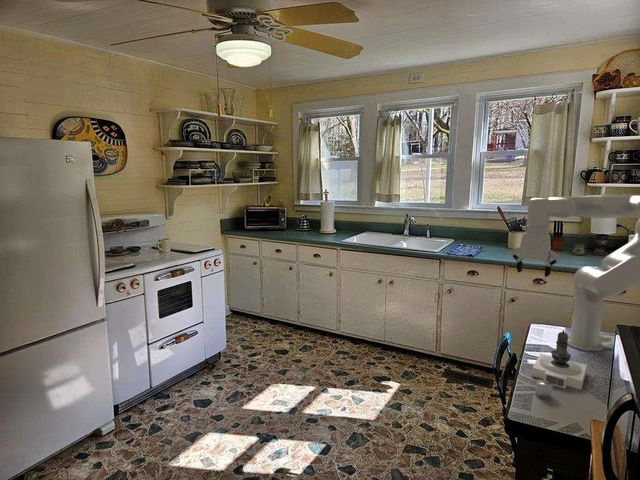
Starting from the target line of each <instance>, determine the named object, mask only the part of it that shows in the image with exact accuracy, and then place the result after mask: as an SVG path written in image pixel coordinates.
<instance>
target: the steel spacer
mask: <svg viewBox="0 0 640 480" xmlns="http://www.w3.org/2000/svg"><path fill="white" fill-rule="evenodd" d="M535 382H536V383H535V392H534V395H535V396H536V397H538V398H539V399H542V400H546V401H547V400H551V399H552V398H553V396H552V395H553V390H554V389H553V388H554V385H553V384H552V383H551V382H549V381H546V380H544V379H538V380H536V381H535Z"/></svg>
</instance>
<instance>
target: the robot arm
mask: <svg viewBox="0 0 640 480" xmlns="http://www.w3.org/2000/svg"><path fill="white" fill-rule="evenodd" d="M573 216H575V217H583V218H584V217H585V218H591V219H614V218H615V219H618V218H620V219H621V218H622V219H624V218H625V219H627V218H632V219H633V218H634V219H638V220H637V221H636V223H635V225H634V226H635V227H634V234H633V237H632V239H631V240H630V241H629V242H627V243H625V244H624V245H622V246H621V247H619V248H618V249H615V250H614V251H612V252H610V253H609V254H608V255H606V256H605V257H604V258H603V259H602V261H601V268H602V269H601V268H599V267H597V266H596V267H595V266H592V265H585V266H582V267H579V268H578V269H577V271H575V274H574V275H573V276H574V277H573V278H574V279H573V283H574V284H573V285H574V286H573V287H574V297H573V298H574V300H573V310H572V318H571V325H570V336H568V341H567V343H568V344H569V345H568V346H570V347H572V348H575V349H578V350H582V351H586V352H600V351H602V350H603V349H604V345H603V344H602V343H604V342H605V343H611V342H612V337H611V336H603V335H602V334H601V327H602V318H603V311H604V299H610V298H613V297H615V296H617V295H620V294H621V293H623V292H625V291H627V290H628V289H630V288H632V287H633V286H635V285H637V284H639V283H640V194H612V195H611V194H607V195H601V194H600V195H584V196H583V195H582V196H550V197H531V198H530V199H528V205H527V216H526V225H524V226H523V225H522V228H521V230H523V231H525V232H524V233H522V236H521V239H520V240H521V241H520V245H519V247H516V248H513V249H511V250H510V253H511V255H512V258H513V259H514V260H515V262H516V271H517V273H519V274H520V273H522V272H523V265H524V264H523V260H530V261H535V262H544V263H545V265H546V266H545V267H544V268H545V269H544V277H545V278H547V277H549V276H550V275H551V270H552V266H554V265H555V264H556V263H558V261H559V260H560V259H561V255H559V254H558V253H557V252H555V251H553V250H552V249H551V248H552V247H551V236H550V234H549V226H550V218H557V219H567V218H570V217H573ZM517 252H518V254H517ZM551 257H553V260H552V261H551V259H550V258H551Z"/></svg>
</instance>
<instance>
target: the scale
mask: <svg viewBox="0 0 640 480" xmlns="http://www.w3.org/2000/svg"><path fill="white" fill-rule="evenodd" d="M553 360H554V359H553V357H552V355H548V354H545V353H544V354H543V353H539V356H538V357H537V359H536V361H535V362H534V364H533V366H532V367H531V368H532V369H531V377H534V378H537V379H540V380H546V381H549V382H551V383H552V384H553V387H554V386H555V387H556V388H557V387H558V388H561V389H565V390H566V388H567V387H570V388H574V389H577V390H582V389H583V385H584V382H585V379H586V375H587V369H588V364H585V363H580V362H577V361H572V360H571V359H570V360H569V361H568V362H566V363H567V364H569V367H568V368H561V367H557V366H554V365H553V364H551V361H553Z"/></svg>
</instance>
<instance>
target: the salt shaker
mask: <svg viewBox="0 0 640 480" xmlns="http://www.w3.org/2000/svg"><path fill="white" fill-rule="evenodd" d="M568 337H569V335H568V333H566V332H565V330H564V329H562V331H560V332H558V334H557V340H556V341H555V344H556V348H555V350H552V351H551V352H550V354H551V356H552V357H553V359H554V360H553V361H551V364H553V365H554V366H557V367H561V368H568V367H569V364H567V363H566V362H568V361H569V360H570V361H571V358H572V355H571V353H569V352H568V346H570V345H569V344H568V343H567V341H568Z"/></svg>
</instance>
